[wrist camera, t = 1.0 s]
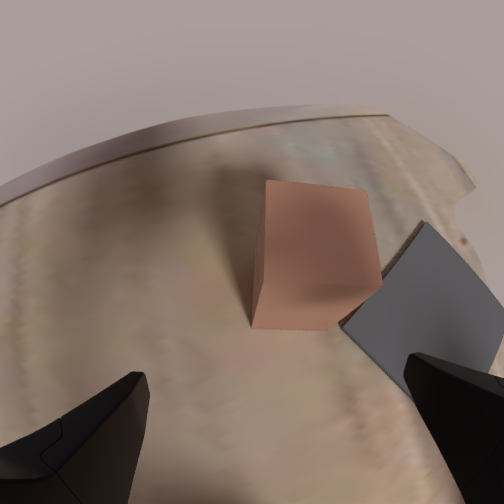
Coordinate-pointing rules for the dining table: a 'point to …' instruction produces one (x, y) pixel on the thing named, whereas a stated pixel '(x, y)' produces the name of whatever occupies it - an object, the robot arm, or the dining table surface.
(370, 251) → the pink upright block
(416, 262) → the charcoal mat
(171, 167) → the dining table surface
